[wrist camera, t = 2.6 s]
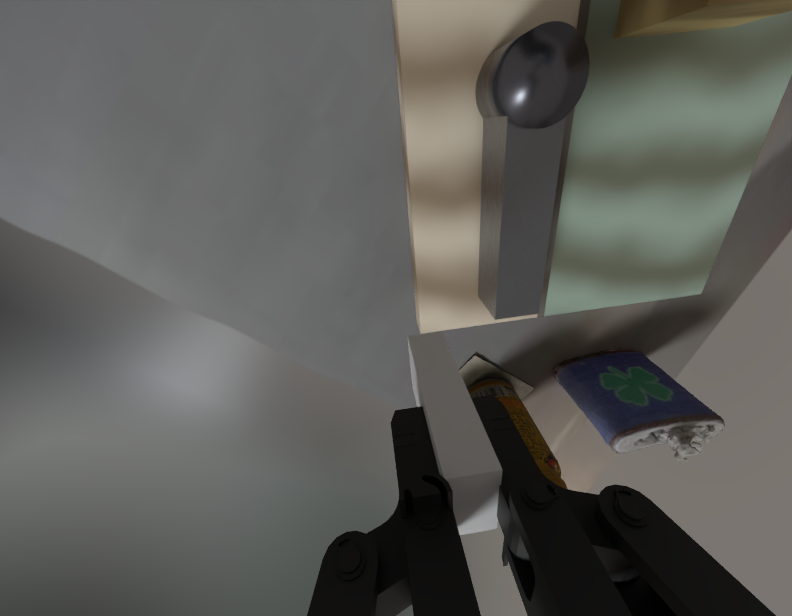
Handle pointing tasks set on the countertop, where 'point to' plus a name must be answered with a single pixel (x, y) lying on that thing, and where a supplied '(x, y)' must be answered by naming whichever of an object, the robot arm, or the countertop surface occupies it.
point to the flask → (637, 403)
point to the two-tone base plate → (592, 143)
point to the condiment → (512, 409)
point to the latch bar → (523, 159)
